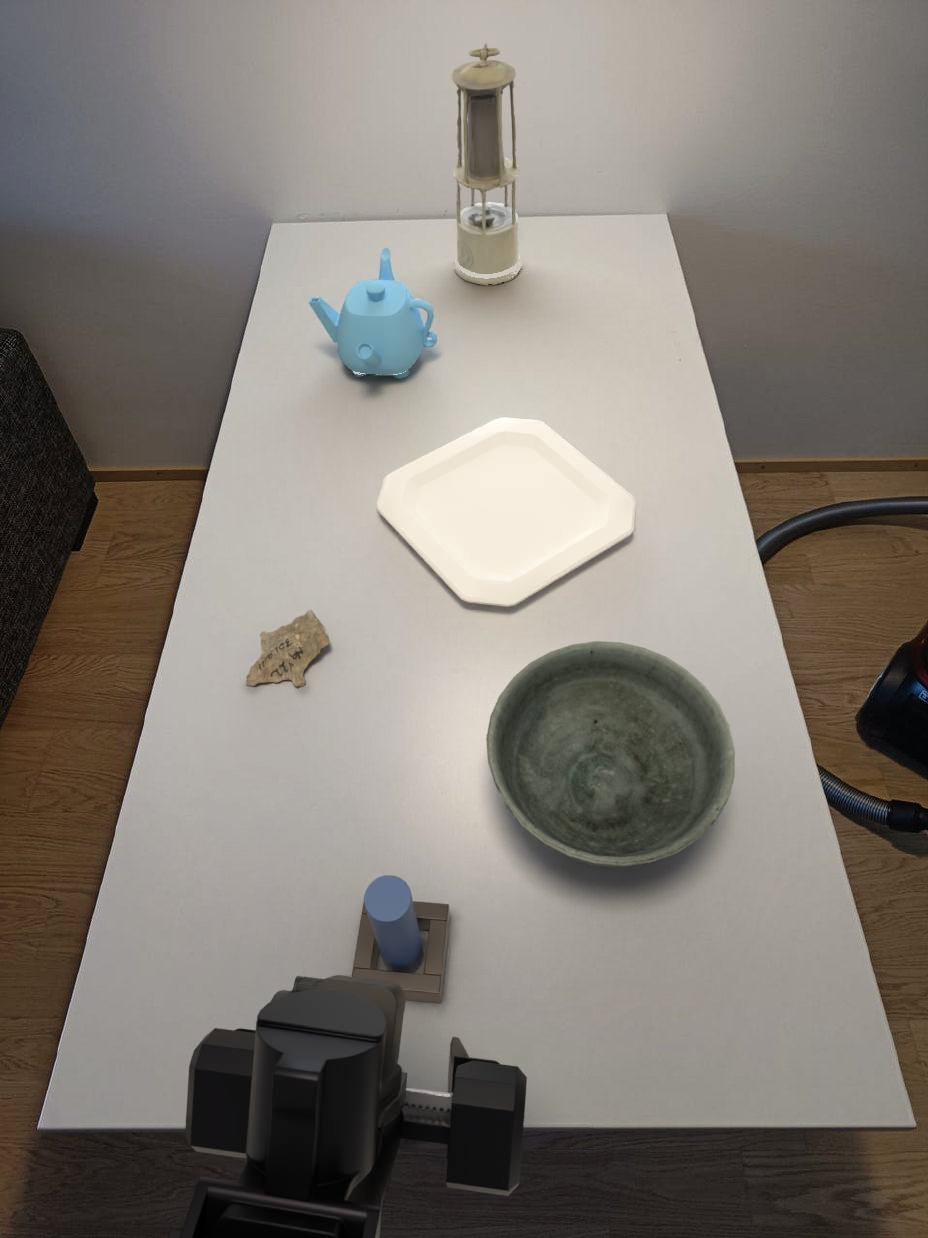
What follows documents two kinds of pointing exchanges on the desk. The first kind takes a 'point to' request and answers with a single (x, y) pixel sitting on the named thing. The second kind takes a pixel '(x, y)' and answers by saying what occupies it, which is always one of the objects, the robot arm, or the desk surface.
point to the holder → (432, 980)
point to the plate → (506, 510)
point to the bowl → (611, 753)
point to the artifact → (289, 651)
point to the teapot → (378, 325)
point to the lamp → (485, 170)
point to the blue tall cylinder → (394, 923)
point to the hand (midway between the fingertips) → (385, 1035)
